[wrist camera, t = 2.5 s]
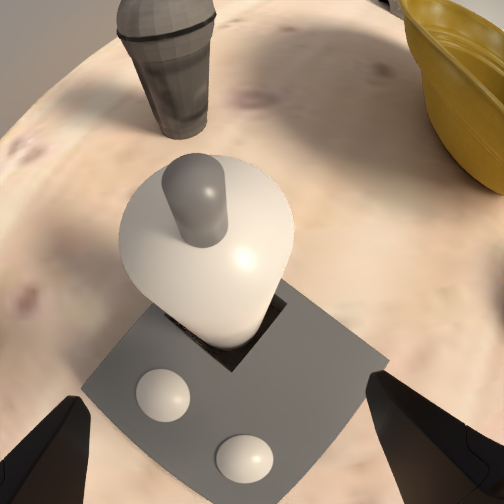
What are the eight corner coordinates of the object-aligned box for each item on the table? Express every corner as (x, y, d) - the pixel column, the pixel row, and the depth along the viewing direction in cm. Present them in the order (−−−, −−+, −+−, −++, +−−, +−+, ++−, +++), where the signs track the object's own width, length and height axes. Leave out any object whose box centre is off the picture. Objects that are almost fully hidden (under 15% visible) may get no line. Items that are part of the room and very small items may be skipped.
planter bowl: (488, 325, 20) (604, 279, 8) (308, 75, 30) (328, -25, 18) (566, 209, 27) (616, 168, 14) (450, 62, 37) (477, 8, 24)
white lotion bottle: (232, 363, 19) (201, 352, 4) (182, 321, 20) (51, 199, 5) (273, 313, 21) (351, 168, 6) (223, 274, 22) (194, 80, 7)
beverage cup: (142, 111, 27) (97, -66, 9) (209, 92, 29) (199, -88, 10) (153, 161, 25) (90, -61, 6) (231, 137, 26) (230, -87, 8)
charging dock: (250, 507, 15) (252, 527, 12) (100, 387, 18) (79, 388, 15) (370, 362, 19) (390, 360, 17) (221, 248, 22) (218, 229, 19)
